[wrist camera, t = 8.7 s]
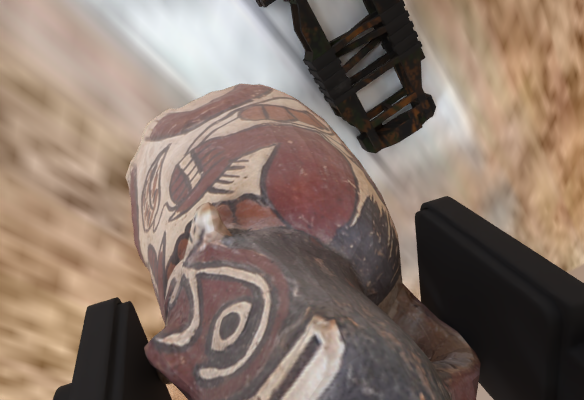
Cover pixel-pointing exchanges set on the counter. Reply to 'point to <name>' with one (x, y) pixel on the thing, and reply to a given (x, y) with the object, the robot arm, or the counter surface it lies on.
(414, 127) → the dark flat slotted piece
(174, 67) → the counter surface
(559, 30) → the counter surface
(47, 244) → the counter surface
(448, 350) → the figurine
